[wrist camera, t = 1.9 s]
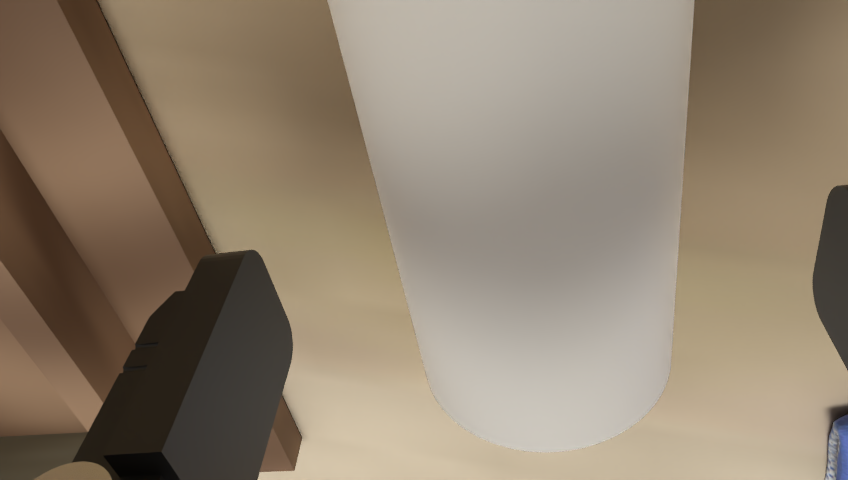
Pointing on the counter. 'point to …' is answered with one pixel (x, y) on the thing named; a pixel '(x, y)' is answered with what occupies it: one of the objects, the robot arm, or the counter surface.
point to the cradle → (82, 233)
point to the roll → (530, 200)
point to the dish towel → (838, 450)
